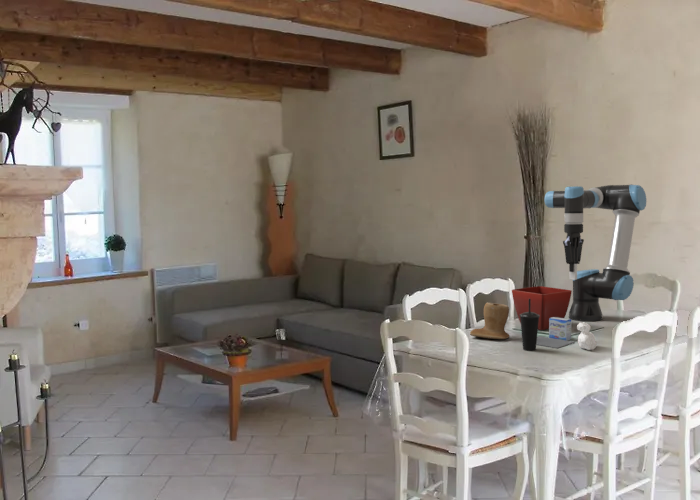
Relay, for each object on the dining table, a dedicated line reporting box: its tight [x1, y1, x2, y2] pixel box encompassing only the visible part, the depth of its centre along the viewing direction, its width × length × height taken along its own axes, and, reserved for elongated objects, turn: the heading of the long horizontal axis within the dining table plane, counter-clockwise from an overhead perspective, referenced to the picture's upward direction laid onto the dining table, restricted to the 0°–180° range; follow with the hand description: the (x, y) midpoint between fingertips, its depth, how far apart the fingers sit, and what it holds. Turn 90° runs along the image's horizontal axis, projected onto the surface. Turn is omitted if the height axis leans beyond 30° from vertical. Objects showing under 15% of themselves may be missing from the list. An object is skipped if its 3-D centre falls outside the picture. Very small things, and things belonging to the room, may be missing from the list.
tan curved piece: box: [469, 302, 510, 340], centre depth 290 cm, size 15×12×15 cm
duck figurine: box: [576, 321, 598, 351], centre depth 269 cm, size 12×8×11 cm
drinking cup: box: [519, 299, 540, 352], centre depth 268 cm, size 8×8×20 cm
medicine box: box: [548, 317, 572, 341], centre depth 286 cm, size 8×4×9 cm, turn 45°
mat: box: [536, 335, 576, 349], centre depth 280 cm, size 13×16×1 cm
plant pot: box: [511, 285, 573, 331], centre depth 310 cm, size 19×19×17 cm
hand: (573, 279), depth 291 cm, fingers closed
